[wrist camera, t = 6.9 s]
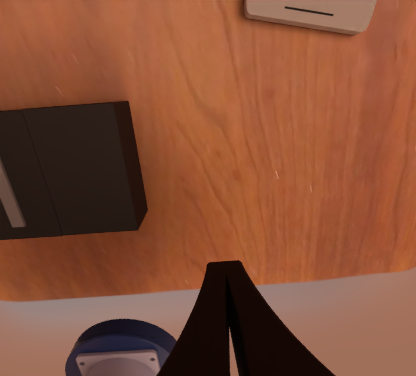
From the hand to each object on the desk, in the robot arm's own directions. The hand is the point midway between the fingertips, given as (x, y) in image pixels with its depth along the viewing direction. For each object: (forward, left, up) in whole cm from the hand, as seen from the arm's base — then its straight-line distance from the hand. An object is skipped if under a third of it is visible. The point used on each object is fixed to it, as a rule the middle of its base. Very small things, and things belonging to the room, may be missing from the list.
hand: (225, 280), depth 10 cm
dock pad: (+3, +13, -9) cm, 16 cm away
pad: (+3, +8, -9) cm, 12 cm away
